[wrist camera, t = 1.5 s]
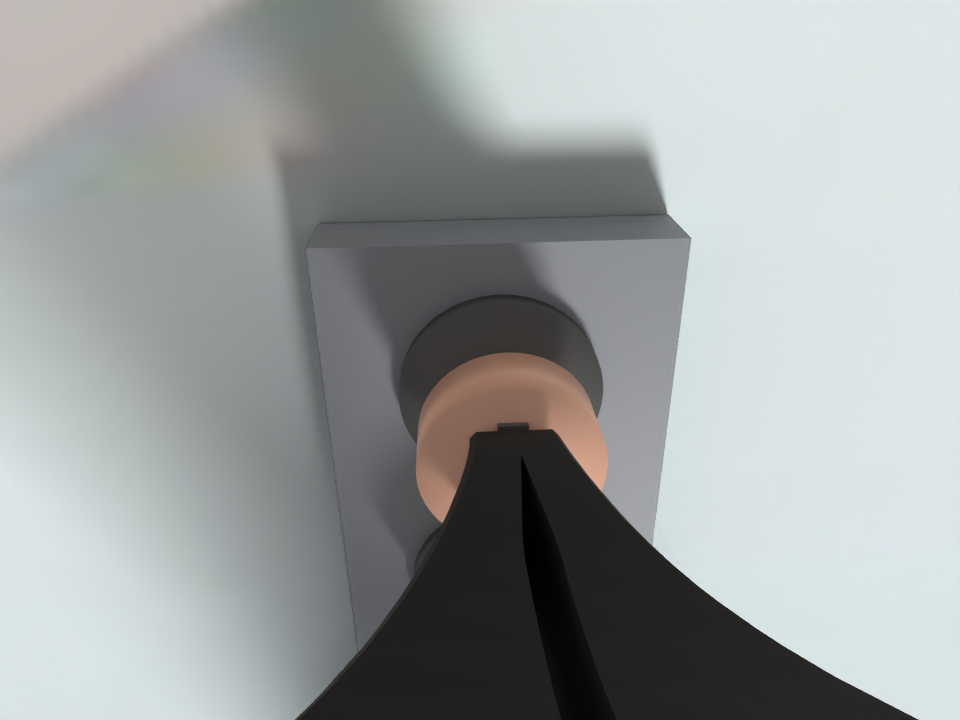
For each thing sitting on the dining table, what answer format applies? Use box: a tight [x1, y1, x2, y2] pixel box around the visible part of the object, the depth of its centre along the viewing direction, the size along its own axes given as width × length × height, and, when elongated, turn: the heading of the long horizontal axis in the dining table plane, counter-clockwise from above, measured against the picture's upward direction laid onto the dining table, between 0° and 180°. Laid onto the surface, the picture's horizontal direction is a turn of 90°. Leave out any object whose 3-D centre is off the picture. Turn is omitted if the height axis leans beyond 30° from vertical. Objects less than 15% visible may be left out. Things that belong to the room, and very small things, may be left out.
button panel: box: [306, 215, 691, 652], centre depth 17 cm, size 16×7×2 cm, turn 1°
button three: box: [416, 352, 608, 523], centre depth 13 cm, size 3×3×1 cm
